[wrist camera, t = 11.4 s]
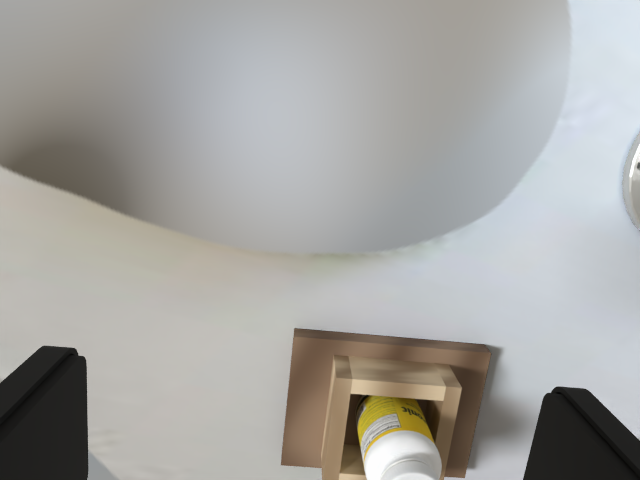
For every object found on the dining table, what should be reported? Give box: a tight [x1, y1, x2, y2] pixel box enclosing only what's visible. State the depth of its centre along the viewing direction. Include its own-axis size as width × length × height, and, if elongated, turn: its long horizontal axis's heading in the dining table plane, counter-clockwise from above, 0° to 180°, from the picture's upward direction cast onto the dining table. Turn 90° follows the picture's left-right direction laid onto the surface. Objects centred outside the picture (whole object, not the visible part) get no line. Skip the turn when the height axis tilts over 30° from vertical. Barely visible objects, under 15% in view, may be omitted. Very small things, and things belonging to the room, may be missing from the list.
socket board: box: [281, 328, 491, 480], centre depth 39 cm, size 16×12×5 cm
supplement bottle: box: [355, 395, 442, 480], centre depth 36 cm, size 5×5×10 cm
